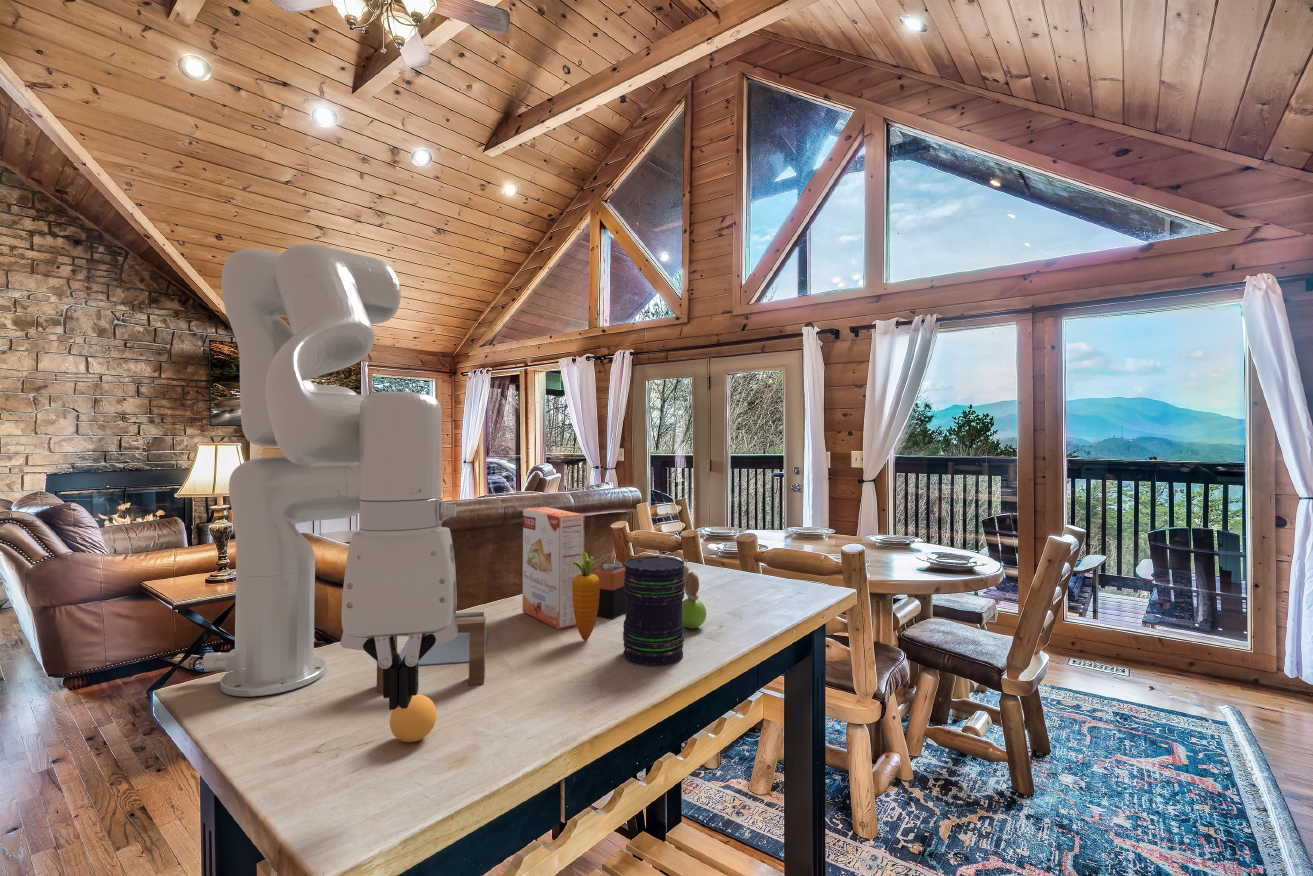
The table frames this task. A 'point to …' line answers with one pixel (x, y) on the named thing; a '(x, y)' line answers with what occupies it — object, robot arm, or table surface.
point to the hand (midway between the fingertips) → (401, 703)
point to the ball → (413, 719)
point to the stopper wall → (469, 614)
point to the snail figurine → (692, 601)
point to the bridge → (475, 650)
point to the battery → (611, 590)
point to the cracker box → (551, 563)
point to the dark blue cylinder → (653, 611)
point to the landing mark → (446, 652)
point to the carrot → (585, 597)
